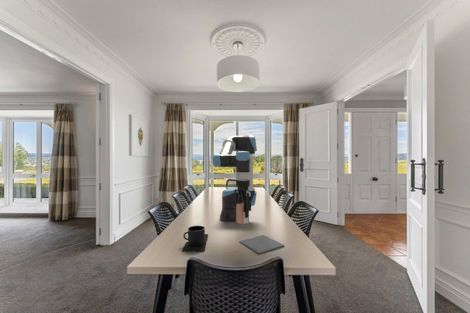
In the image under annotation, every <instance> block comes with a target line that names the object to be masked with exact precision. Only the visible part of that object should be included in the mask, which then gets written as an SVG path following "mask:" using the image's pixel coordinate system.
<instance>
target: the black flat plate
mask: <svg viewBox="0 0 470 313" xmlns="http://www.w3.org/2000/svg"><path fill="white" fill-rule="evenodd" d="M208 238H209V234H207V233H205V244H204V245H202V246H200V247H191V246H189V245H188V241H186V242H185V243H184V246H183V248H182V249H181V252H183V253H199V252H200V253H201V252H205V250H206V248H207V247H206V246H207V242H208Z"/></svg>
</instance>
